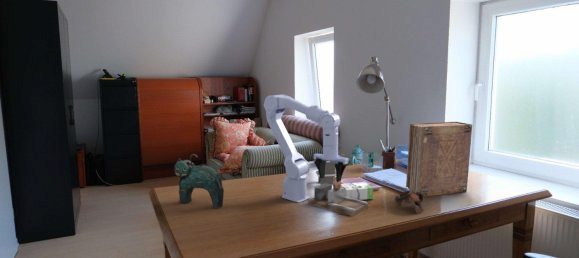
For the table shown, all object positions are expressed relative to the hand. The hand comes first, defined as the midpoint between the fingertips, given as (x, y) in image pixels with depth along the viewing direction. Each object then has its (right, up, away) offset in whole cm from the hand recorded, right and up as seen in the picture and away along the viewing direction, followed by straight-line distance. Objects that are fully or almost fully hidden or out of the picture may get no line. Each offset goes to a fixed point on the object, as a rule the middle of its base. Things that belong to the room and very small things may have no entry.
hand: (330, 179), depth 148 cm
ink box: (+18, -6, +13) cm, 23 cm away
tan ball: (0, -7, +3) cm, 7 cm away
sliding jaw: (+3, -9, +2) cm, 9 cm away
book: (+49, -8, +20) cm, 54 cm away
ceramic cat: (-51, -10, +2) cm, 52 cm away
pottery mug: (+31, -11, -1) cm, 33 cm away
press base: (+3, -10, +1) cm, 11 cm away
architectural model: (+1, -6, +31) cm, 32 cm away
